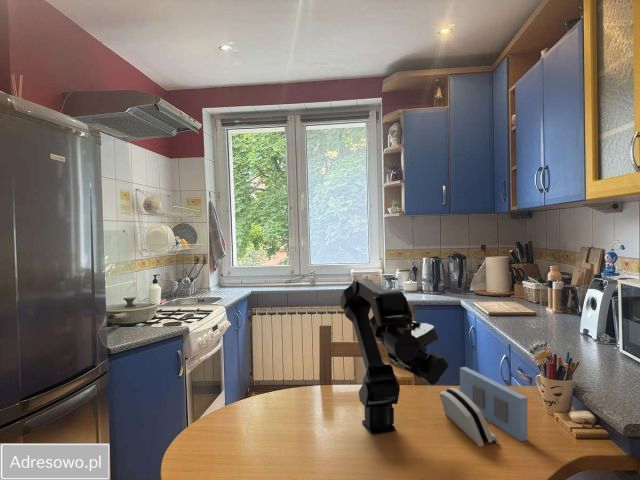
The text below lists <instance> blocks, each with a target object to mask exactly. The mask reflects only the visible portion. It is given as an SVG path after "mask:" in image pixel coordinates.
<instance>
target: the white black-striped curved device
mask: <svg viewBox="0 0 640 480" xmlns="http://www.w3.org/2000/svg"><path fill="white" fill-rule="evenodd" d="M439 398H440V401H441V404H442V407H443V412H444V414H445V415H446V416H447V417H448V418H449V419H450V420H451V422H453V423H454V424H455V425H456V426H457V427H458V428H459V429H460V428H461V429H462V430H461V429H460V430H461V431H462V432H464V434H465V435H466V436H468V437H469V438H470V439H471V441H473V442H474V443H475V444H476V445H477V446H478V447H484V446H485V444H486V443H489V444H490V443H492V442H494V441H495V442H496V443H499V440H498V437H497V436H496V435H495V434H493V432H491V430H490V429H489V426H488V425H487V422H486V419H485V418H484V416H483V414H482V412H481V411H480V410H479V408H478V407H477V406H476V405H475V404H474V403H473V402H472V401H471V400H470V399H469V398H468V397H467V396H466V395H465V394H463V393H462V392H461V391H460V389H458V388H455V387H448V388H447V389H446V390H441V391H440V392H439ZM495 442H494V443H495ZM496 443H495V444H496Z"/></svg>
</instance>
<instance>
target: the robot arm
mask: <svg viewBox="0 0 640 480" xmlns="http://www.w3.org/2000/svg"><path fill="white" fill-rule="evenodd" d="M339 302H340V308H341V309H342V310H343V313H344V316H345V317H346V318H347V319H348V320H349V321H350V322H351V323H352V324H353V327H354V332H355V334H356V338H357V342H358V346H359V349H360V352H361V356H362V357H361V358H362V361H363V364H364V367H365V372H364V375H363V378H362V385H361V387H360V389H359V390H358V397H359V398H358V399H359V401H360V403H361V404H362V405H363V407H364V419H363V420H361V424H363V426H364V427H365V428H366V429H367V430H368V431H369V432H370V433H371V435H376V434H384V433H387V432H393V431H396V427H395V426H394V424H395V408H394V407H393V405H397V404H398V401H399V397H400V391H401V388H400V387H401V386H400V384H399V380H398V378H397V377H396V374H395V372H394V367H393V366H392V365H391V364H389V363H388V364H386V363H385V362H384V360H383V358H382V354H381V352H380V347H379V345H378V342H377V340H378V341H379V342H380V343H381V344H382V345H383V346H384V347H386V350H387V351H388V352H387V358H389V359H390V360H391V362H393V363H394V364H396V365H398V364H399V363H400V364H401V365H403V366H404V369H405V370H406V371H408V372H409V373H411V374H413V375H414V376H416V377H417V378H419V379H422V380H423V381H424V382H426V383H427V384H429V385H431V386H434V385H436V384H437V383H438V382H439V381H440V378H441V376H442V375H444V373H445V372H446V370H447V369H448V367H449V365H450V362H448V361H447V359H446V358H445V357H442V356H440V355H438V354H437V353H427V351H428V348H427V346H429V345H430V344H432V343H433V342H436V341H438V340H439V338H440V337H439V334H438V333H437V330H436V328H435V326H434V325H432V324H429V323H427V322H424V323H423V322H420V323H418V322H417V321H415V320H413V313H412V311H411V307H410V305H409V302H408V299H407V297H406V296H405V294H404V293H403V292H402V291H401V290H397V289H385V288H384V287H381V286H380V285H378V284H377V283H375V282H373V280H372V279H369V278H361V279H359V278H358V279H355V280H353V281H352V283H351V285H349V286H348V287H347V288H345V289H344V290H343V291H342V293H341V296H340V301H339ZM370 311H372V314H373V316H372V317H371V318H370V317H369V316H370V315H369V314H370Z"/></svg>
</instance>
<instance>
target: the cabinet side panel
mask: <svg viewBox="0 0 640 480" xmlns="http://www.w3.org/2000/svg"><path fill="white" fill-rule="evenodd" d="M459 391H461V392H462V393H463V394H465V395H466V396H467V397H468V398H469V399H470V400H471V401H472V402H473V403H474V404H475V405H476V406H477V407H478V408H479V410H480V411H481V412H482V414H483V416H484V419H485V420H487V421H488V420H489V421H488V422H490V423H491V422H492V423H491V424H493V425H494V424H495V426H496V427H497V426H498V428H499V427H500V429H501V430H502V429H503V430H502V431H504V432H505V431H506V432H505V433H507V434H508V433H509V434H508V435H510V436H511V435H512V437H513V438H514V439H516V440H518V441H519V442H523V441H528V397H527V396H525V395H523V394H521V393H520V392H517V391H515V390H513V389H511V388H509V387H507V386H505V385H503V384H501V383H499V382H497V381H495V380H492V379H491V378H489V377H487V376H484V375H483V374H481V373H479V372H477V371H475V370H473V369H471V368H469V367H467V366H463V367H459Z"/></svg>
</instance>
